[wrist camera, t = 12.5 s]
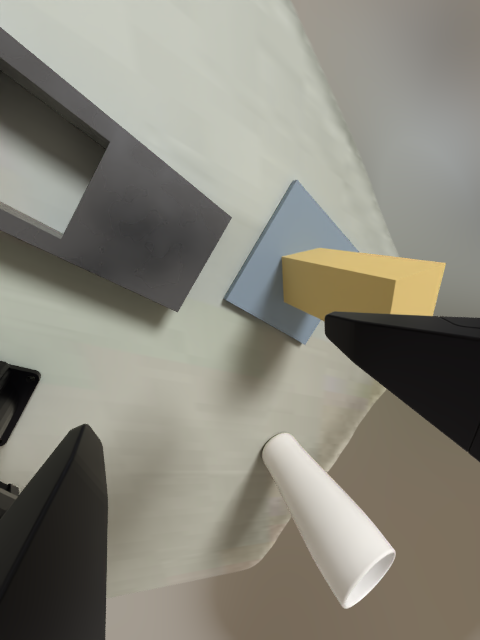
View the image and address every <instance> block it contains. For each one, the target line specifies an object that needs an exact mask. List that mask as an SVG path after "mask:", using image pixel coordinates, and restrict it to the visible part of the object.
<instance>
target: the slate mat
mask: <svg viewBox="0 0 480 640" xmlns="http://www.w3.org/2000/svg"><path fill="white" fill-rule="evenodd" d="M317 248H326V249H334V250H342V251H350V252H359V251H358V250H357V249H356V248H355V247H354V245H353V244H352V243H351V242H350V241H349V240H348V238H347V237H346V236H345V235H344V234H343V233H342V231H341V230H340V229H339V228H338V227H337V226H336V224H335V223H334V222H333V221H332V220H331V219H330V218H329V216H328V215H327V214H326V213H325V212H324V211H323V209H322V208H321V207H320V206H319V205H318V204H317V202H316V201H315V200H314V199H313V198H312V197H311V195H310V194H309V193H308V192H307V191H306V190H305V188H304V187H303V186H302V185H301V184H300V183H299V181H298V180H295V181H293V182H292V183H291V185H290V187H289V188H288V190H287V192H286V193H285V195H284V197H283V199H282V200H281V202H280V204H279V205H278V207H277V209H276V210H275V212H274V214H273V216H272V217H271V219H270V221H269V222H268V224H267V226H266V227H265V229H264V231H263V232H262V234H261V236H260V238H259V239H258V241H257V243H256V244H255V246H254V248H253V249H252V251H251V253H250V254H249V256H248V258H247V260H246V261H245V263H244V265H243V266H242V268H241V270H240V271H239V273H238V275H237V277H236V278H235V280H234V282H233V283H232V285H231V287H230V288H229V290H228V292H227V293H226V295H225V297H224V299H225V300H227V301H229V302H230V303H232V304H234V305H236V306H237V307H239V308H241V309H243V310H245V311H246V312H248V313H250V314H252V315H253V316H255V317H257V318H259V319H260V320H262V321H264V322H266V323H268V324H269V325H271V326H273V327H275V328H276V329H278V330H280V331H282V332H283V333H285V334H287V335H289V336H291V337H292V338H294V339H296V340H298V341H299V342H301V343H303V344H306V342H307V341H308V339H309V338H310V336H311V335H312V333H313V331H314V330H315V328H316V327H317V325H318V324H319V322H320V321H321V319H319V318H316V317H314V316H312V315H310V314H308V313H306V312H304V311H302V310H300V309H298V308H296V307H293V306H291V305H289V304H287V303H285V302H284V295H283V274H282V256H287V255H291V254H295V253H299V252H304V251H308V250H312V249H317ZM359 253H360V252H359Z"/></svg>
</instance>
